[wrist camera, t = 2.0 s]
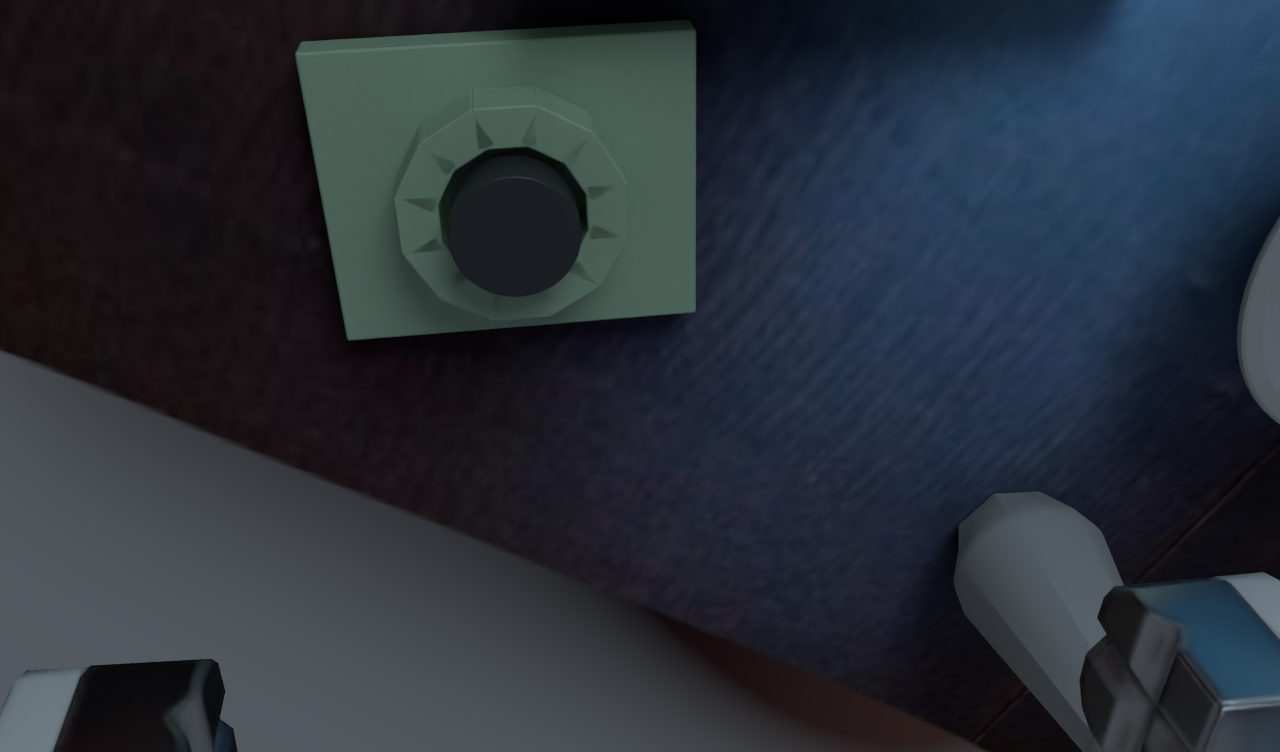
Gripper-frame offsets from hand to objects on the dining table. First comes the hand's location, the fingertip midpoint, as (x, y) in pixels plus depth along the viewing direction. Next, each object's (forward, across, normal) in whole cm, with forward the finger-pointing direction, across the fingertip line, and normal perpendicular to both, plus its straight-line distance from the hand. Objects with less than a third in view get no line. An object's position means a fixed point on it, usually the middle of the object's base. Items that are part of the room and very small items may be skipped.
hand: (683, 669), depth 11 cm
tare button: (+23, 0, +5) cm, 24 cm away
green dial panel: (+26, 0, +5) cm, 26 cm away
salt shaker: (+26, -18, +20) cm, 37 cm away
